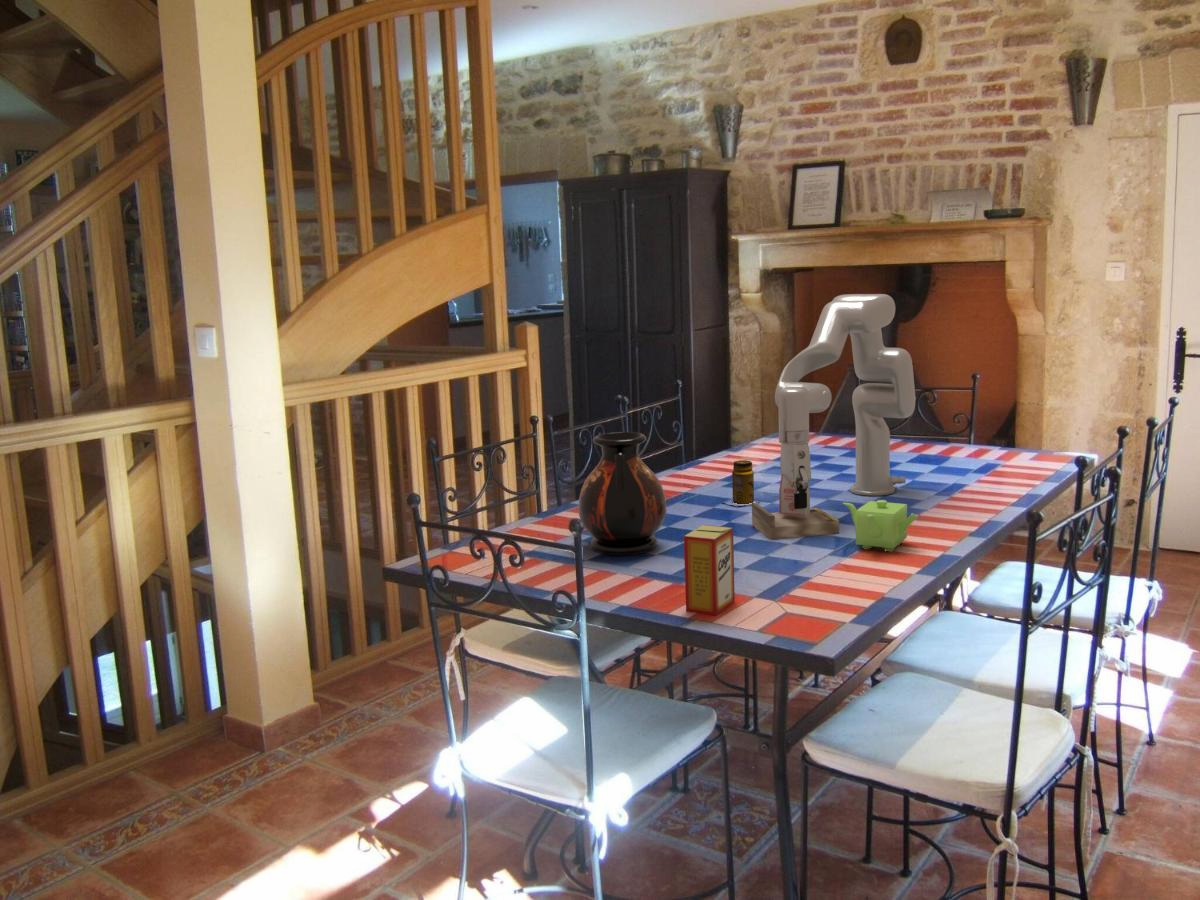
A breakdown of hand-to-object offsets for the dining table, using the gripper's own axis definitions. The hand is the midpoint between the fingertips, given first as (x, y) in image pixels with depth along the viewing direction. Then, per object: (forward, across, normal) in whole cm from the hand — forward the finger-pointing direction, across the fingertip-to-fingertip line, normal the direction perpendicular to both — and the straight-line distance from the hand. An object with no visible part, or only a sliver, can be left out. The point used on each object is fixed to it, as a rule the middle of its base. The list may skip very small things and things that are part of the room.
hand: (794, 504), depth 265 cm
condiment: (+7, +32, +4) cm, 33 cm away
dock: (+7, 0, 0) cm, 7 cm away
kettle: (+7, -21, -13) cm, 26 cm away
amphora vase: (+7, -2, +45) cm, 46 cm away
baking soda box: (+6, -50, +37) cm, 63 cm away
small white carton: (+3, 0, 0) cm, 3 cm away
